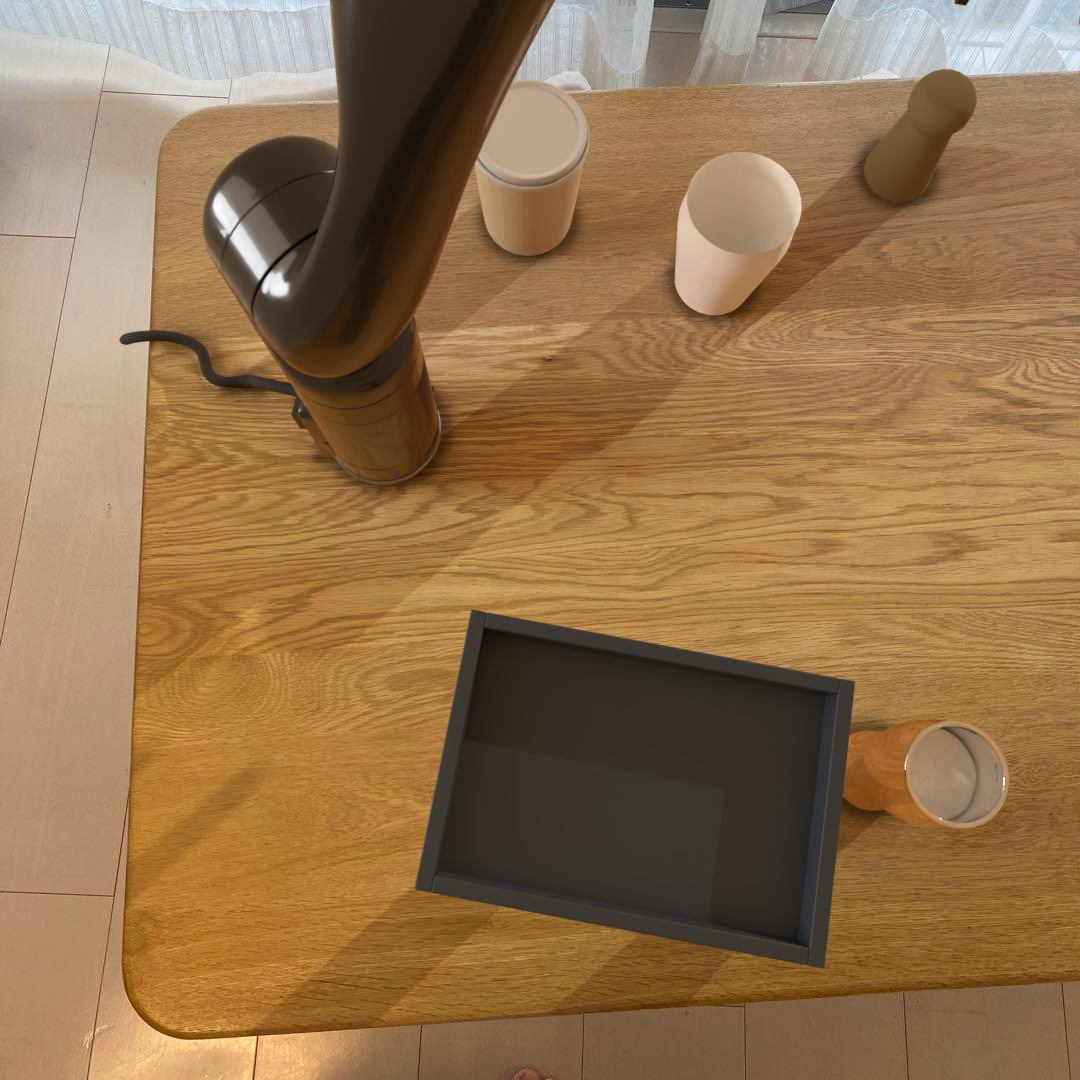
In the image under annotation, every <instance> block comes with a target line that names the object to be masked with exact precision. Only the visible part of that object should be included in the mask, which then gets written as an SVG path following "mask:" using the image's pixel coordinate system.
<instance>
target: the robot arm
mask: <svg viewBox="0 0 1080 1080" xmlns="http://www.w3.org/2000/svg"><path fill="white" fill-rule="evenodd" d="M555 2H556V0H329V11H330V24H331V37H332V48H333V58H334V71H335V80H336V81H335V82H336V92H337V110H338V111H337V113H338V137H337V138H338V139H337V147H336V146H335V145H334V144H331V143H329V142H327V141H325V140H321V139H319V138H317V137H316V138H315V137H312V136H306V135H295V134H294V135H282V136H275V137H271V138H268V139H265V140H262V141H260V142H257V143H256V144H253V145H251V146H249V147H248V148H246V149H245V150H243V151H242V152H240V153H239V154H237V155H236V156H235V157H234V158H233V159H231V161H229V162H228V163H227V165H226V166H224V168H223V169H221V171H220V172H219V174H218V175H217V177H216V178H215V180H214V182H213V183H212V185H211V186H210V187H211V188H210V189H209V192H208V193H207V197H206V198H205V202H204V207H203V210H202V211H203V212H202V218H201V219H202V220H201V230H202V231H201V232H202V239H203V242H204V246H205V249H206V252H207V253H208V255H209V257H210V259H211V261H212V262H213V263H212V264H214V266H215V267H216V270H217V271H218V272H219V274H220V275H221V277H222V279H223V280H224V282H225V283H226V285H227V286H228V288H229V290H230V291H231V293H232V295H233V296H234V297H235V299H236V301H237V302H238V304H239V305H240V307H241V308H242V310H243V312H244V313H245V315H246V317H247V318H248V320H249V322H250V324H251V325H252V327H253V328H254V330H255V331H256V333H257V335H258V336H259V337H260V340H261V341H262V342H263V344H264V345H265V347H266V349H267V350H268V352H269V353H270V355H271V356H272V358H273V359H274V361H275V363H276V364H277V366H278V367H279V368H280V370H281V372H282V373H283V374H284V376H285V377H286V379H287V381H288V382H287V381H281V380H276V379H272V378H267V377H262V376H259V375H254V374H253V375H252V374H241V375H240V374H239V375H233V376H231V375H230V376H225V375H224V376H223V375H220V374H218V373H217V372H216V371H215V370H214V368H213V365H212V362H211V358H210V354H209V351H208V349H207V348H206V346H205V345H204V344H203V343H202V342H201V341H200V340H198V339H196V338H194V337H192V336H190V335H187V334H184V333H181V332H177V331H171V330H162V329H160V330H157V329H152V330H151V329H149V330H137V331H131V332H125V333H123V334H122V335H121V336H120V337H119V343H120V344H121V345H123V346H128V345H133V344H138V343H145V342H167V343H173V344H177V345H180V346H183V347H186V348H188V349H190V350H192V351H193V352H194V353H195V354H196V356H197V359H198V363H199V367H200V370H201V374H202V375H203V376H204V378H205V380H207V382H209V383H210V384H212V385H213V386H217V387H220V388H237V387H238V388H239V387H254V388H257V389H261V390H266V391H269V392H274V393H279V394H283V395H287V396H291V397H295V398H294V403H293V406H292V410H291V414H290V416H291V417H292V419H293V420H294V422H295V423H296V425H297V426H298V428H299V429H300V430H307V432H308V433H309V435H310V436H311V438H312V439H313V441H314V442H315V445H317V447H318V448H319V450H320V452H321V453H322V455H323V457H326V458H330V459H334V460H335V461H336V462H337V463H338V465H339V466H340V467H341V468H342V470H344V471H345V472H346V473H347V474H349V475H350V476H351V477H353V478H355V479H357V481H361V482H363V483H367V484H370V485H376V486H387V485H388V486H389V485H395V484H400V483H404V482H406V481H408V480H410V479H412V478H414V477H416V476H417V475H419V474H420V473H421V472H423V471H424V470H425V469H426V468H427V467H428V466H429V465H430V464H431V462H432V460H433V459H434V457H435V456H436V453H437V452H438V449H439V447H440V444H441V439H442V421H441V416H440V412H439V410H438V407H437V405H436V400H435V395H434V392H435V388H434V386H433V385H432V383H431V380H430V379H431V378H430V376H429V372H428V368H427V363H426V359H425V355H424V351H423V347H422V342H421V339H420V333H419V330H418V325H417V320H416V317H415V314H416V313H417V311H418V310H419V307H420V305H421V304H422V301H423V299H424V298H425V295H426V293H427V291H428V289H429V286H430V284H431V281H432V279H433V276H434V273H435V271H436V269H437V266H438V264H439V260H440V257H441V255H442V253H443V249H444V247H445V245H446V241H447V239H448V236H449V234H450V231H451V228H452V225H453V222H454V219H455V217H456V214H457V211H458V209H459V206H460V203H461V201H462V198H463V195H464V193H465V190H466V187H467V185H468V182H469V180H470V177H471V174H472V172H473V169H474V168H475V167H474V165H475V162H476V160H477V158H478V156H479V153H480V151H481V149H482V147H483V144H484V142H485V140H486V138H487V136H488V134H489V131H490V129H491V127H492V125H493V123H494V121H495V118H496V116H497V114H498V112H499V109H500V107H501V105H502V103H503V101H504V99H505V97H506V95H507V93H508V91H509V89H510V86H511V84H512V82H514V80H515V78H516V76H517V74H518V72H519V69H520V68H521V66H522V64H523V62H524V59H525V58H526V56H527V53H528V52H529V49H530V48H531V46H532V44H533V42H534V40H535V39H536V36H537V35H538V33H539V31H540V29H541V27H542V26H543V24H544V22H545V20H546V19H547V17H548V15H549V13H550V11H551V9H552V7H553V6H554V4H555ZM969 2H970V0H954V5H959V6H965V7H966V6H968V3H969ZM1078 18H1079V19H1078V24H1079V26H1080V17H1078Z"/></svg>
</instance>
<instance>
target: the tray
mask: <svg viewBox="0 0 1080 1080" xmlns="http://www.w3.org/2000/svg"><path fill="white" fill-rule="evenodd" d="M467 623H468V624H467V629H466V634H465V639H464V643H463V649H462V654H461V657H460V663H459V668H458V673H457V678H456V682H455V688H454V693H453V698H452V703H451V707H450V712H449V717H448V722H447V727H446V731H445V736H444V741H443V746H442V751H441V756H440V761H439V766H438V772H437V776H436V780H435V786H434V790H433V796H432V801H431V805H430V809H429V810H430V811H429V815H428V820H427V825H426V829H425V835H424V839H423V844H422V849H421V855H420V860H419V864H418V868H417V874H416V878H415V884H414V890H415V891H420V892H425V893H432V894H436V895H441V896H446V897H450V898H457V899H461V900H467V901H473V902H477V903H482V904H487V905H492V906H498V907H504V908H509V909H513V910H519V911H522V912H528V913H533V914H538V915H544V916H548V917H549V916H550V917H554V918H559V919H565V920H571V921H575V922H579V923H585V924H591V925H597V926H601V927H606V928H610V929H611V928H612V929H615V930H616V929H618V930H620V931H621V930H622V931H626V932H631V933H637V934H642V935H647V936H653V937H658V938H662V939H668V940H673V941H679V942H684V943H689V944H694V945H700V946H704V947H710V948H715V949H719V950H725V951H730V952H736V953H741V954H747V955H751V956H756V957H761V958H767V959H771V960H777V961H783V962H786V963H792V964H798V965H803V966H808V967H811V968H812V967H813V968H817V969H825V965H826V956H827V947H828V938H829V929H830V919H831V911H832V910H831V909H832V900H833V893H834V892H833V891H834V884H835V883H834V881H835V872H836V865H837V863H836V862H837V856H838V855H837V854H838V845H839V836H840V826H841V816H842V808H843V799H844V797H843V790H844V781H845V771H846V762H847V753H848V743H849V735H850V733H851V723H852V715H853V707H854V706H853V705H854V697H855V686H856V681H855V680H851V679H845V678H838V677H835V676H830V675H824V674H818V673H814V672H809V671H808V672H807V671H803V670H797V669H791V668H787V667H782V666H777V665H771V664H765V663H760V662H756V661H755V662H754V661H749V660H745V659H739V658H734V657H728V656H722V655H717V654H713V653H707V652H702V651H695V650H691V649H686V648H681V647H680V648H679V647H674V646H669V645H664V644H659V643H653V642H648V641H642V640H637V639H632V638H627V637H622V636H615V635H610V634H605V633H599V632H594V631H588V630H584V629H578V628H574V627H567V626H563V625H557V624H551V623H546V622H542V621H536V620H531V619H525V618H519V617H515V616H510V615H503V614H499V613H494V612H493V613H492V612H486V611H483V610H477V609H471V610H470V614H469V619H468V622H467Z"/></svg>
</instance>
